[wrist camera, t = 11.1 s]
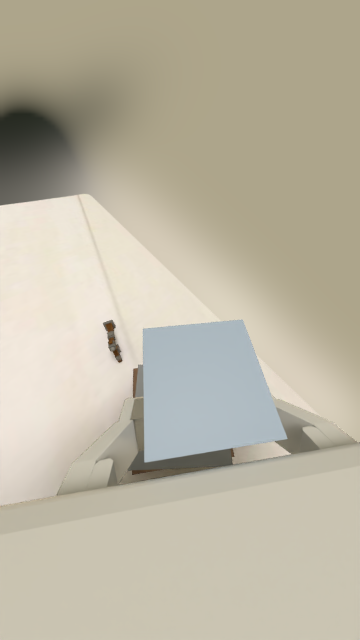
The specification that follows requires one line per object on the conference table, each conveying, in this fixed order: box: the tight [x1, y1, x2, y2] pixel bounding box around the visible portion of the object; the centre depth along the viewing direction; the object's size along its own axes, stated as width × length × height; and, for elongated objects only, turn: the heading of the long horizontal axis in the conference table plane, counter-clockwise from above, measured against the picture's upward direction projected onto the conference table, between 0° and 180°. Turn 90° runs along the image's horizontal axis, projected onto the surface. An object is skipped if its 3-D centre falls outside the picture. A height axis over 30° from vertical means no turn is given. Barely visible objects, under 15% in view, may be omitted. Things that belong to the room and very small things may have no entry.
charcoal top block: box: [128, 365, 233, 471], centre depth 21 cm, size 10×10×4 cm
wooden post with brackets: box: [103, 320, 122, 362], centre depth 30 cm, size 2×8×4 cm, turn 25°
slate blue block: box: [143, 320, 287, 463], centre depth 10 cm, size 4×4×9 cm
